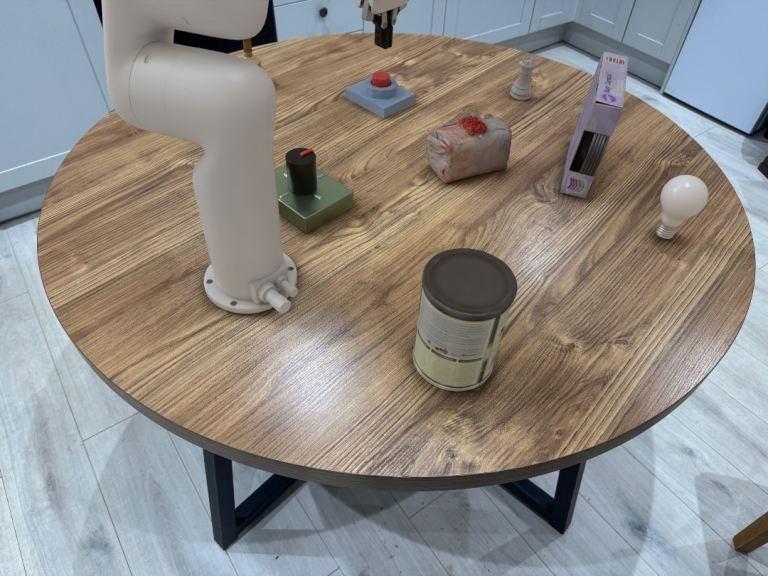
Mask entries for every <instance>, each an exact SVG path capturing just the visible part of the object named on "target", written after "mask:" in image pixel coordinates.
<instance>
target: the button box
mask: <svg viewBox="0 0 768 576" xmlns="http://www.w3.org/2000/svg"><path fill="white" fill-rule="evenodd" d="M416 95H417V94H416V93H414V92H412V91H410V90H409V89H407V88H404V87H403V86H400V85H399V83H398V81H397V80H396V78H394V77H392V76H390V85H389V86H388V87H382V88H380V87H375V86H373V85H372V75H370V76H368V77H366V78H365V79H364V80H361V81H359V82H356V83H354V84H351V85H349V86H347V87H345V99H347V100H349V101H351V102H352V103H355V104H356V105H358V106H360V107H362V108H364V109H365V110H368V111H369V112H371V113H373V114H375V115H376V116H378V117H380V118H382V119H386V118H388V117H390V116H393V115H395V114H396V113H399V112H401V111H402V110H403V111H404V110H405V109H407V108H409V107H411V106H413V105H415V103H416Z"/></svg>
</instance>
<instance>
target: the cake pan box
mask: <svg viewBox="0 0 768 576" xmlns="http://www.w3.org/2000/svg"><path fill="white" fill-rule="evenodd" d="M629 59H630V58H629V57H628V56H625V55H622V54H618V53H612V52H608V51H603V52H602V54H601V56H600V58H599V61H598V63H597V67H596V68H595V71H594V75H593V78H592V80H591V83H590V86H589V88H588V91H587V93H586V97H585V100H584V102H583V105H582V108H581V111H580V112H579V116H578V119H577V121H576V124H575V128H574V130H573V131H572V135H571V138H570V141H569V142H570V143H569V146H568V150H567V154H566V159H565V164H564V169H563V175H562V180H561V186H560V194H564V195H567V196H570V197H571V196H572V197H575V198H579V199H583V200H585V199H586V198H587V196H588V194H589V191H590V188H591V186H592V183H593V181H594V178H595V175H596V172H597V171H598V168H599V166H600V164H601V162H602V159H603V157H604V155H605V152H606V150H607V147H608V144H609V142H610V139H611V137H612V136H613V134H614V132H615V130H616V127H617V125H618V123H619V120H620V117H621V115H622V112H623V110H624V104H625V99H626V98H625V96H626V86H627V77H628V71H629V70H628V69H629Z"/></svg>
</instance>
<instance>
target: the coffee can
mask: <svg viewBox="0 0 768 576" xmlns="http://www.w3.org/2000/svg"><path fill="white" fill-rule="evenodd" d="M517 294H518V281H517V278H516V275H515V273H514V271H513V270H512V268H510V266H509V265H508V264H507V263H506V262H505V261H503V260H502V259H500V258H499V257H497V256H496V255H493V254H492V253H490V252H487V251H484V250H481V249H476V248H469V247H457V248H450V249H445V250H443V251H441V252H439V253H437V254H435V255H433V256H432V257H431V258H430V259H429V260H428V261H427V262H426V263H425V265H424V268H423V270H422V274H421V289H420V298H419V306H418V316H417V321H416V323H417V324H416V329H415V336H414V344H413V348H412V362H413V365H414V367H415V369H416V371H417V372H418V374H419V375H420V376H421V377H422V378H423V380H425V381H426V382H427V383H428V384H430V385H433V386H434V387H436V388H439V389H440V390H441V389H442V390H444V391H450V392H466V391H470V390H474V389H476V388H479V387H480V386H482V385H483V384H484V383H485V382H486V381H488V379H489V378H490V376H491V374H492V372H493V369H494V364H495V360H496V357H497V354H498V350H499V348H500V344H501V340H502V337H503V334H504V331H505V328H506V326H507V325H506V324H507V321H508V318H509V315H510V311H511V308H512V305H513V303H514V301H515V299H516V296H517Z"/></svg>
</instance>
